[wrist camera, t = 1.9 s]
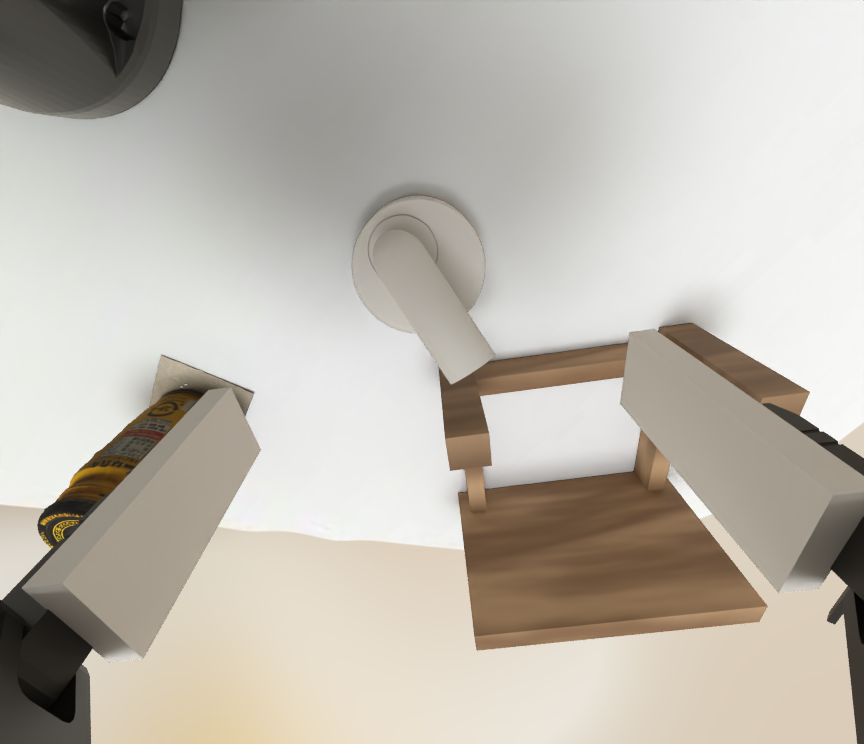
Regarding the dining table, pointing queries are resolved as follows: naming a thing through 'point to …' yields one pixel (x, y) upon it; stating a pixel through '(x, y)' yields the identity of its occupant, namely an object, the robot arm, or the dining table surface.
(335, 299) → the dining table surface
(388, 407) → the dining table surface
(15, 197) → the dining table surface
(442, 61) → the dining table surface
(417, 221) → the wall hook
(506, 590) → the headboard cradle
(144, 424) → the condiment
